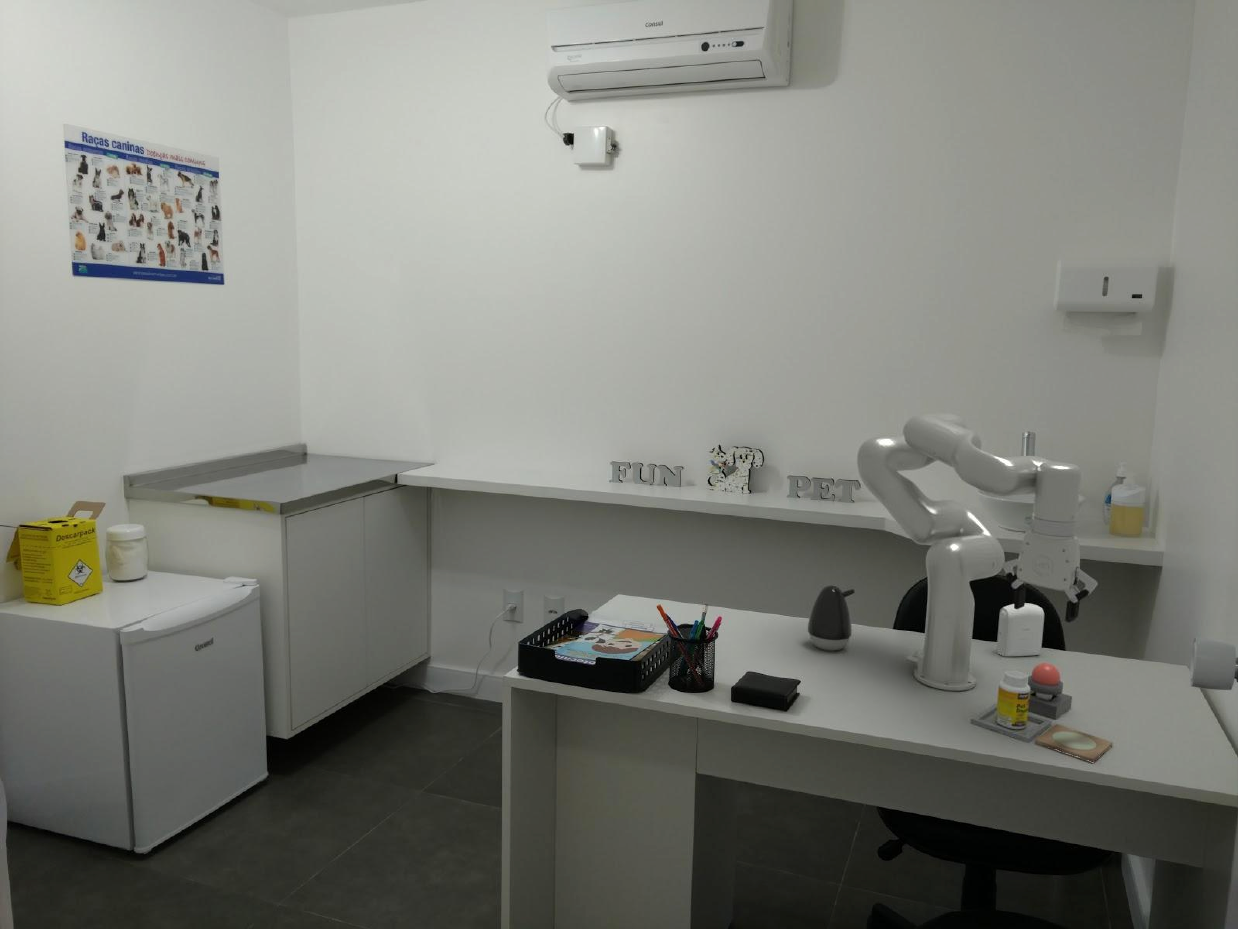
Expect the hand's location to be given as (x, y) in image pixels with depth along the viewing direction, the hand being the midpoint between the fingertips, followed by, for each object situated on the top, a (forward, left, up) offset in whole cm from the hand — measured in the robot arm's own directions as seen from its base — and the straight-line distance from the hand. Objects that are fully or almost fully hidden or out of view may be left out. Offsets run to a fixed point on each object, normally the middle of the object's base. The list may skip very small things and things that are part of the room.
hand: (1044, 614), depth 170 cm
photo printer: (-17, +35, -22) cm, 44 cm away
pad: (+9, -5, -22) cm, 24 cm away
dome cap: (-1, +8, -20) cm, 22 cm away
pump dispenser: (-49, +4, -22) cm, 54 cm away
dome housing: (-1, +8, -22) cm, 23 cm away
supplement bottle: (-2, -5, -22) cm, 23 cm away
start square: (-2, -5, -22) cm, 22 cm away
